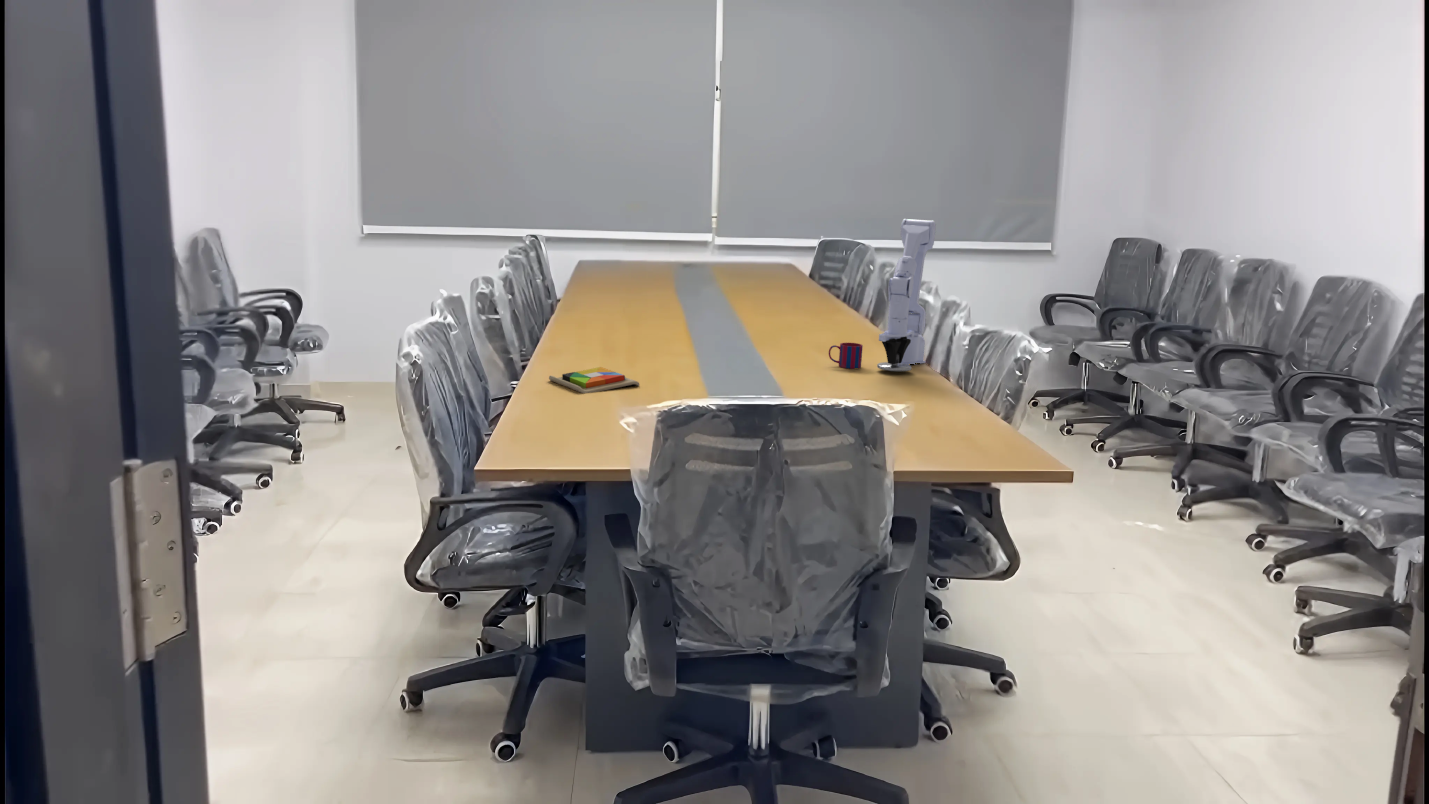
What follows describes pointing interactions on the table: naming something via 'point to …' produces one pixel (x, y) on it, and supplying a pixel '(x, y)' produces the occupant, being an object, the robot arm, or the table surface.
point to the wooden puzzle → (593, 380)
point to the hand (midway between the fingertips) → (894, 363)
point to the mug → (849, 355)
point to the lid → (894, 365)
